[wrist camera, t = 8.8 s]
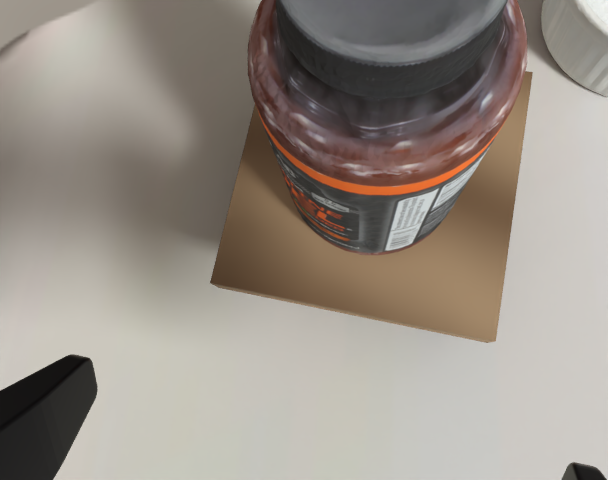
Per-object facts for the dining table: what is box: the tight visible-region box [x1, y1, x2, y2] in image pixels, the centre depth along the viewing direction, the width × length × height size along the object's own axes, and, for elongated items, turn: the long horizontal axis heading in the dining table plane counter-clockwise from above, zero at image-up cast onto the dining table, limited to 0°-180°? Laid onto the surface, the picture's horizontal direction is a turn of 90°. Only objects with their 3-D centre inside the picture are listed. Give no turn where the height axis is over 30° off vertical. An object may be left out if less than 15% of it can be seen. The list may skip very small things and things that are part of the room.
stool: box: [210, 71, 533, 343], centre depth 21 cm, size 10×10×4 cm
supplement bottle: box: [248, 0, 527, 255], centre depth 14 cm, size 6×6×11 cm
